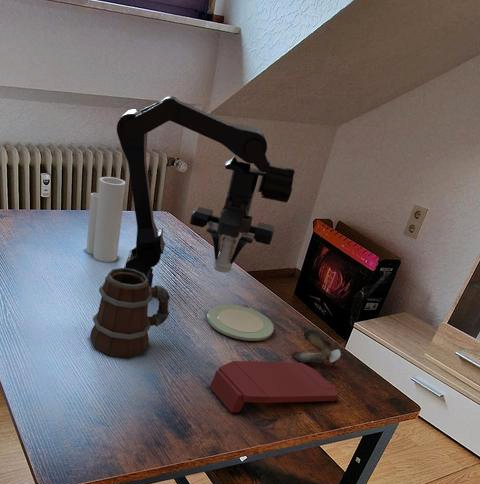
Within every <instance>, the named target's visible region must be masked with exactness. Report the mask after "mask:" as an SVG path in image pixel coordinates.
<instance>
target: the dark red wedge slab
mask: <svg viewBox="0 0 480 484" xmlns="http://www.w3.org/2000/svg"><path fill="white" fill-rule="evenodd" d="M209 388H210V390H211V391H212V392H213V393H214V394H215V396H217V398H218V399H219V400H220V401H221V402H222V404H223V406H225V407H226V408H227V410H229V412H230V413H240V412H241V410H242V408H243V406H244V404H245V403H261V404H262V403H265V404H271V403H273V404H274V403H275V404H276V403H306V402H336V401H337V399H338V398H339V394H338V393H339V392H338V391H337V388H336V387H335V386H333V384H331V383H330V382H329V381H328V380H327V379H326V378H325V377H324V376H322V375H321V374H320V373H319V372H317V370H316V369H314V367H313V368H312V367H311V366H309V365H307V364H305V363H304V362H296V361H295V362H294V361H293V362H291V361H251V360H232V361H230V362H228V363H225V364H223V365H221V366H218V370H216V371H215V372H214V376H213V378H212V380H211V382H210V385H209Z"/></svg>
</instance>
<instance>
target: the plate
mask: <svg viewBox="0 0 480 484" xmlns="http://www.w3.org/2000/svg"><path fill="white" fill-rule="evenodd" d="M206 316H207V317H206V319H207V320H206V321H207V322H208V324H209V325H210V326H211V327H212V328H213V329H214V330H216V331H217V332H219V333H220V334H222V335H224V336H228V337H230V338H232V339H237V340H241V341H249V342H251V341H252V342H254V341H255V342H256V341H263V340H266V339H268V338H270V337H271V336H272V335H273V333H274V329H275V328H274V327H275V326H274V323H273V322H272V320H270V319H269V317H267V316H266V315H264V314H262V313H261V312H259V311H257V310H255V309H252V308H250V307H246V306H241V305H236V304H220V305H216V306H213V307H212V308H210V309H208V312H207V314H206Z"/></svg>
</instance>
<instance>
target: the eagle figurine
mask: <svg viewBox="0 0 480 484" xmlns="http://www.w3.org/2000/svg"><path fill="white" fill-rule="evenodd" d="M303 337H304V339H305V340H306V341H307V342H308V343H309V344H310V345H311V346H312V347H314V348H315V349H317V350H319V352H318V351H317V352H316V351H315V352H313V351H311V352H309V351H308V352H299V353H296V354H295V355H294V358H295V359H296V360H297V361H299V363H304V364H305V363H316V364H323V363H324V362H325V361H326V360H327V361H329V362H330V363H331V367H332V368H336V367H335V366H336V363H340V360H339V359H340V358H341V357H342V356H344V353H342V351H343V348H344V345H345V343H341V344H340V346H339V347H338V348H336V349H333V345H332V342H331V341H330V340H328V339H326V338H325V336H323V334H322V332H321V331H319V330H316V329H312V328H309V329H307V330H305V331H304V332H303ZM332 349H333V350H332Z"/></svg>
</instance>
